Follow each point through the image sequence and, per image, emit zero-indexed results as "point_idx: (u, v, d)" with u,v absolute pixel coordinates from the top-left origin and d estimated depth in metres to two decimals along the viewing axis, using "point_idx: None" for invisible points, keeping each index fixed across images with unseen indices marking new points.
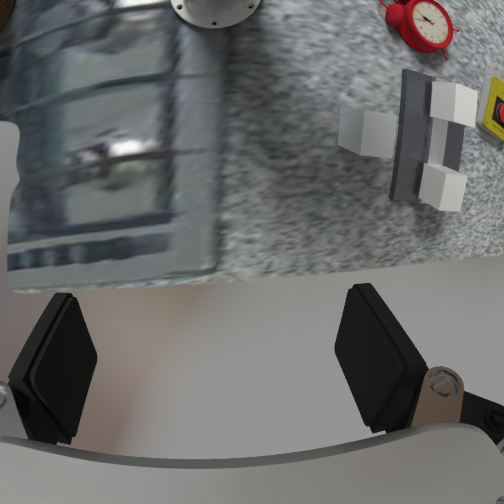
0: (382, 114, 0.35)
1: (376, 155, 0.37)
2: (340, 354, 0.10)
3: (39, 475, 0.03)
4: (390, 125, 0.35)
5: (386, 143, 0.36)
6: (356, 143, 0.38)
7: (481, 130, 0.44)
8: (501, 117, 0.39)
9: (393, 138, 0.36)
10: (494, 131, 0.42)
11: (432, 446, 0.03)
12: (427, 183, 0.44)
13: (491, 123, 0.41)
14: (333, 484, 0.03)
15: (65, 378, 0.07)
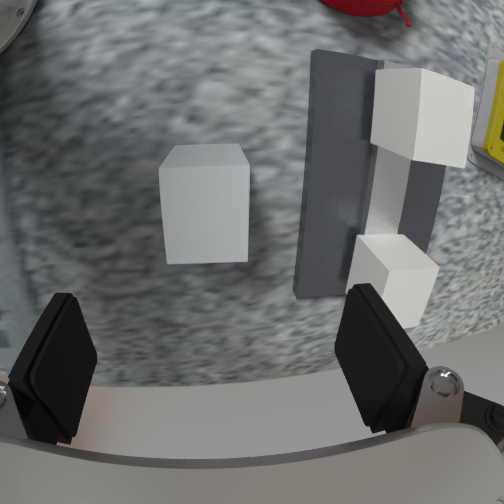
0: (208, 170, 0.16)
1: (205, 260, 0.19)
2: (340, 354, 0.10)
3: (39, 475, 0.03)
4: (233, 192, 0.17)
5: (227, 233, 0.18)
6: None
7: (480, 157, 0.26)
8: None
9: (246, 220, 0.18)
10: (503, 160, 0.24)
11: (432, 446, 0.03)
12: (358, 274, 0.26)
13: (499, 146, 0.23)
14: (333, 484, 0.03)
15: (65, 378, 0.07)
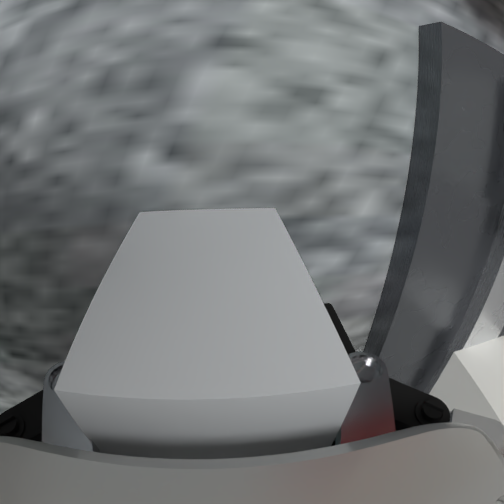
0: (218, 406, 0.04)
1: None
2: None
3: (39, 475, 0.03)
4: (295, 436, 0.05)
5: None
6: None
7: None
8: None
9: None
10: None
11: (432, 446, 0.03)
12: None
13: None
14: (333, 483, 0.03)
15: None
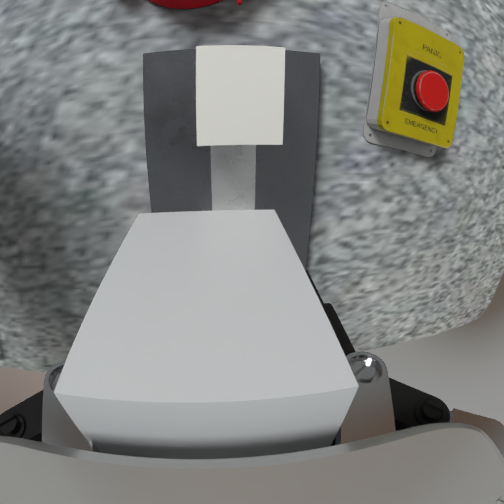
0: (216, 409, 0.04)
1: None
2: None
3: (39, 475, 0.03)
4: (294, 438, 0.05)
5: None
6: None
7: (385, 135, 0.26)
8: (423, 101, 0.21)
9: None
10: (411, 134, 0.24)
11: (432, 446, 0.03)
12: None
13: (400, 119, 0.23)
14: (333, 484, 0.03)
15: None
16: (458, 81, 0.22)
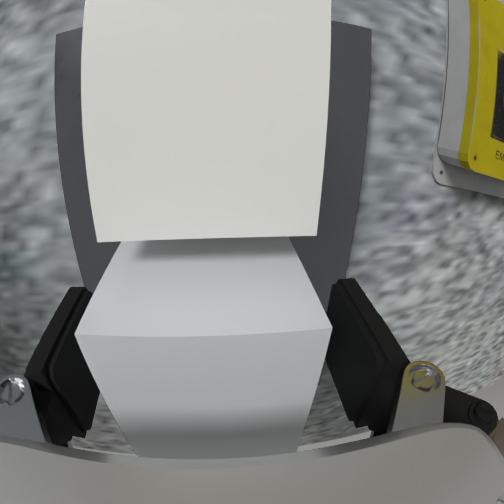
0: (212, 344, 0.06)
1: None
2: None
3: (39, 475, 0.03)
4: (280, 382, 0.06)
5: (259, 436, 0.07)
6: None
7: (460, 172, 0.16)
8: None
9: (302, 418, 0.07)
10: (501, 174, 0.13)
11: (432, 446, 0.03)
12: None
13: (490, 152, 0.13)
14: (333, 484, 0.03)
15: (81, 371, 0.08)
16: None
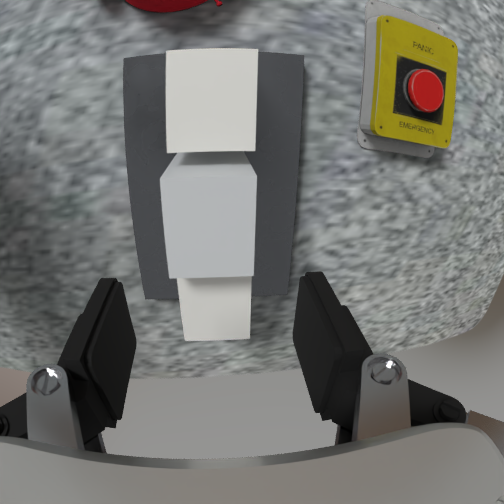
0: (212, 180, 0.16)
1: (210, 274, 0.18)
2: (296, 342, 0.11)
3: (39, 475, 0.03)
4: (239, 204, 0.16)
5: (232, 246, 0.18)
6: None
7: (381, 140, 0.26)
8: (416, 103, 0.21)
9: (252, 233, 0.17)
10: (407, 137, 0.23)
11: (432, 446, 0.03)
12: None
13: (394, 122, 0.23)
14: (333, 484, 0.03)
15: (114, 360, 0.08)
16: (453, 77, 0.21)
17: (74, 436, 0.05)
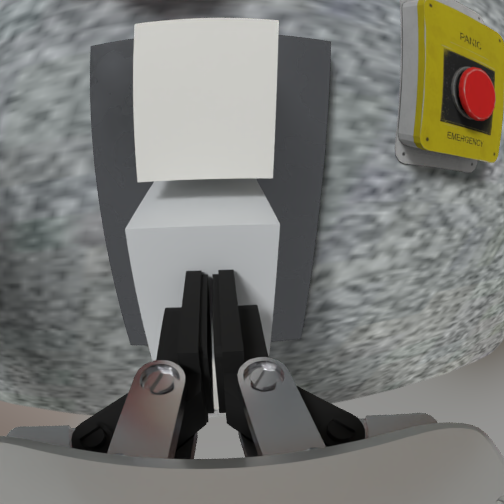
0: (209, 232, 0.10)
1: None
2: None
3: (39, 475, 0.03)
4: (251, 266, 0.11)
5: None
6: None
7: (421, 152, 0.20)
8: (468, 109, 0.15)
9: (270, 305, 0.12)
10: (455, 151, 0.18)
11: (432, 446, 0.03)
12: None
13: (442, 133, 0.17)
14: (333, 484, 0.03)
15: (210, 352, 0.09)
16: (501, 77, 0.15)
17: (168, 448, 0.05)
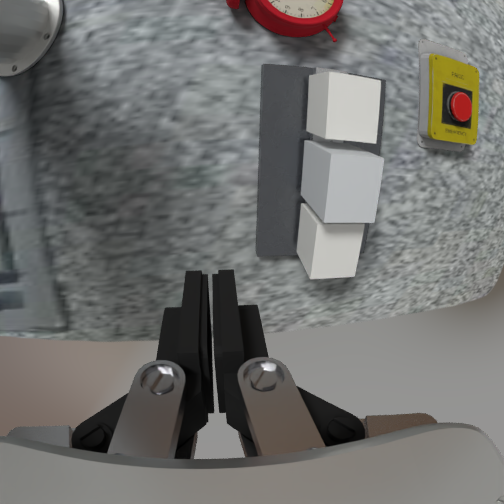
0: (361, 158, 0.24)
1: (349, 220, 0.27)
2: None
3: (39, 475, 0.03)
4: (373, 174, 0.25)
5: (365, 202, 0.26)
6: (320, 202, 0.27)
7: (431, 141, 0.34)
8: (456, 116, 0.29)
9: (377, 194, 0.26)
10: (450, 139, 0.32)
11: (432, 446, 0.03)
12: (302, 233, 0.34)
13: (442, 129, 0.31)
14: (333, 484, 0.03)
15: None
16: (476, 94, 0.29)
17: (168, 449, 0.05)
